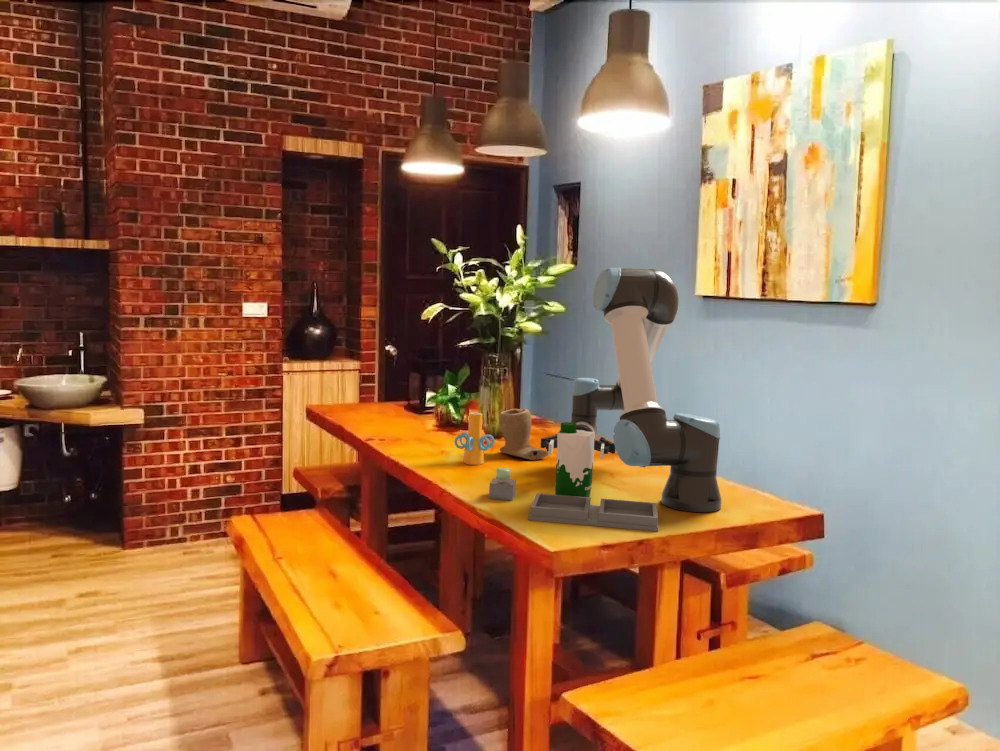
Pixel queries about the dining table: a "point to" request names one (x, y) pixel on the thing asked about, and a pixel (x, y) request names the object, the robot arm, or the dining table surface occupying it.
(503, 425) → the brown boot
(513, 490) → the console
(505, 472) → the button
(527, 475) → the dining table surface
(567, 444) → the soya milk
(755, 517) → the dining table surface
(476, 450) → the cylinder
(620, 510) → the pocket tray
